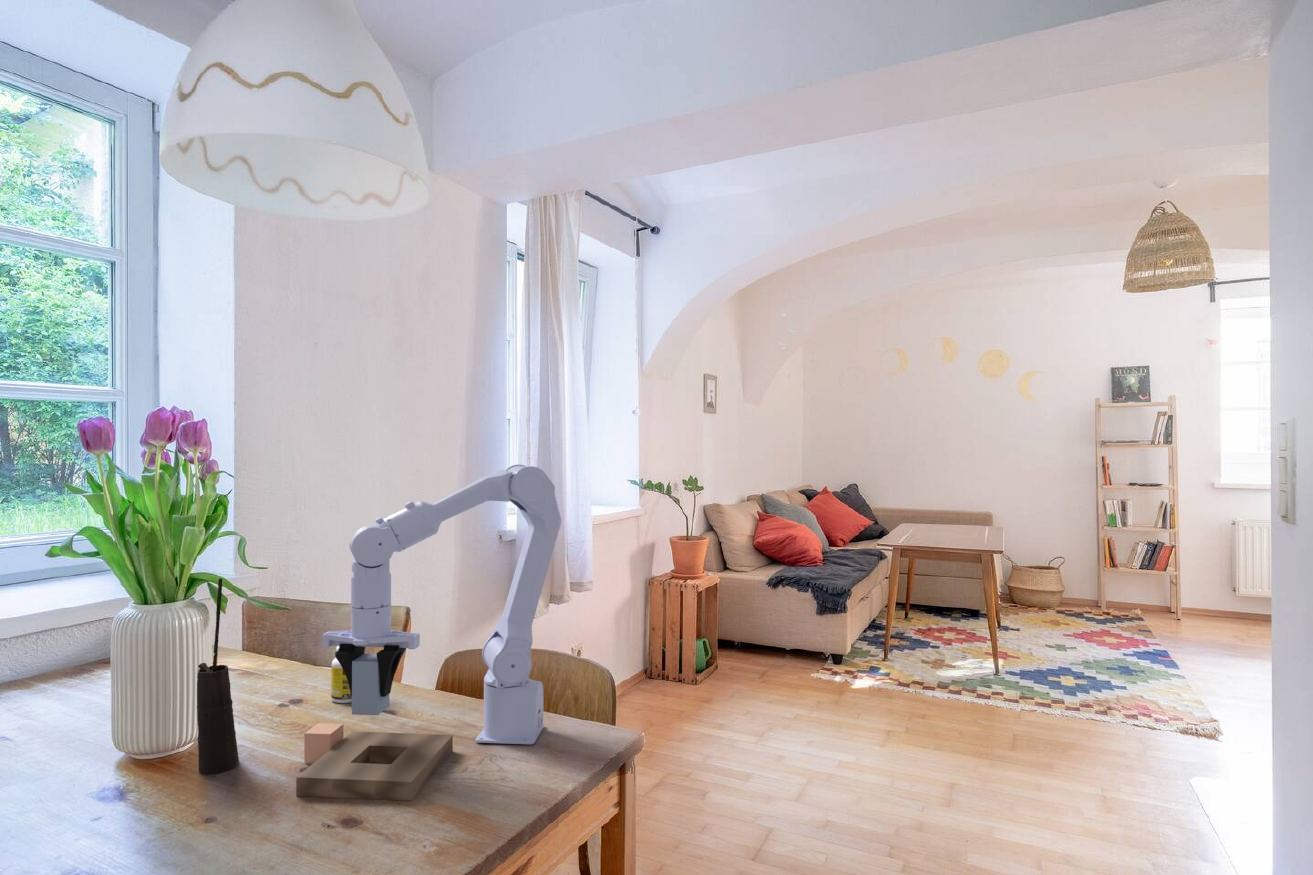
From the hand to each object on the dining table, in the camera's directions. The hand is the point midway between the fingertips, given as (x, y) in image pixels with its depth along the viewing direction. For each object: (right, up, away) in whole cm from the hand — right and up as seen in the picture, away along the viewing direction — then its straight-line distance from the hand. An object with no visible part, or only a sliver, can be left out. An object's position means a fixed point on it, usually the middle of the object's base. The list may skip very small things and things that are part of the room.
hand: (370, 694), depth 115 cm
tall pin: (0, -2, 0) cm, 2 cm away
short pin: (-7, -10, -1) cm, 12 cm away
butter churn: (-22, -10, -4) cm, 24 cm away
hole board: (+3, -9, -6) cm, 11 cm away
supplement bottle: (-14, -10, +25) cm, 30 cm away
